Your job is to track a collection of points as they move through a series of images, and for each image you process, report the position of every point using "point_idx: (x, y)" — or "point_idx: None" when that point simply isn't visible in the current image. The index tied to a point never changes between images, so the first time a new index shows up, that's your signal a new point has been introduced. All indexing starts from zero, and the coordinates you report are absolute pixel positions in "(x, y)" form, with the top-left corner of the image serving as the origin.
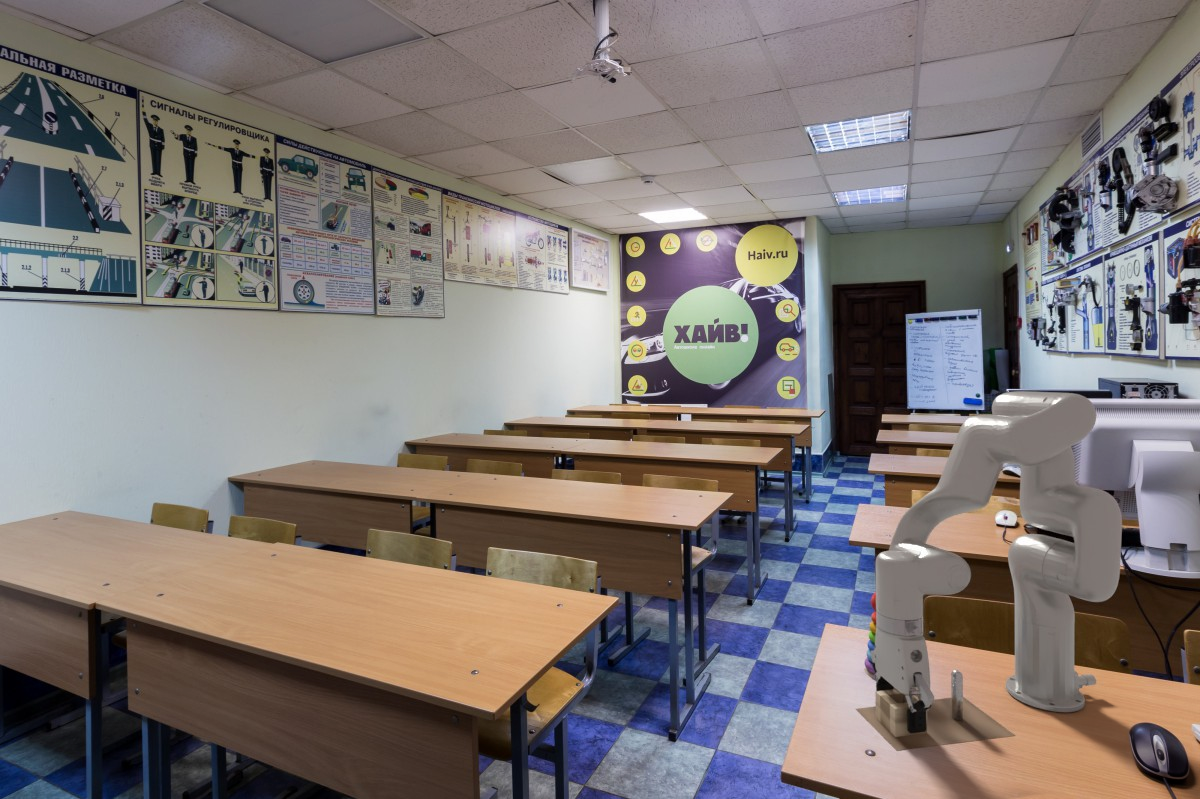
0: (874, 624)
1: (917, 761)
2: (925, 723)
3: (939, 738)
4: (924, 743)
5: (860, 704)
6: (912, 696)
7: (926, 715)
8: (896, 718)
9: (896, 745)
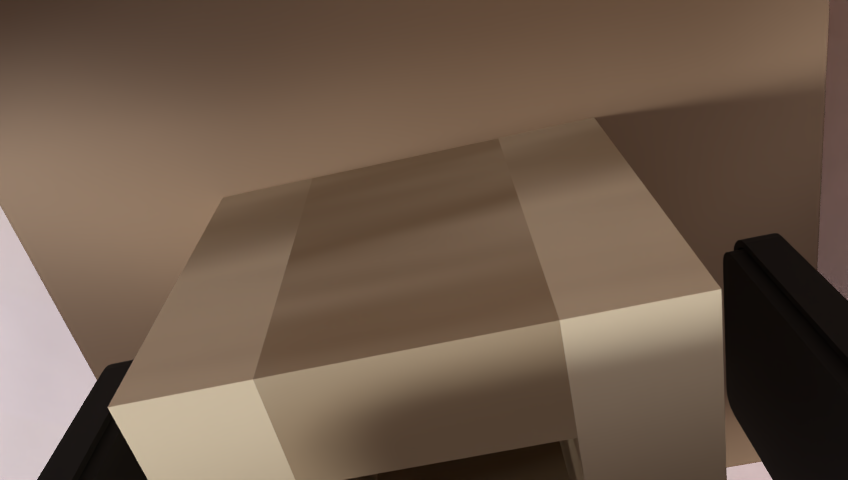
0: None
1: (832, 279)
2: (818, 284)
3: (711, 25)
4: (765, 215)
5: (2, 433)
6: (407, 402)
7: (658, 212)
8: None
9: (742, 434)
